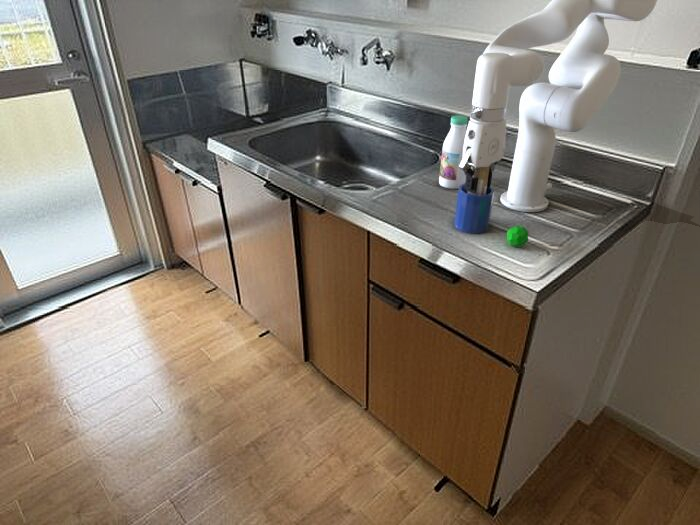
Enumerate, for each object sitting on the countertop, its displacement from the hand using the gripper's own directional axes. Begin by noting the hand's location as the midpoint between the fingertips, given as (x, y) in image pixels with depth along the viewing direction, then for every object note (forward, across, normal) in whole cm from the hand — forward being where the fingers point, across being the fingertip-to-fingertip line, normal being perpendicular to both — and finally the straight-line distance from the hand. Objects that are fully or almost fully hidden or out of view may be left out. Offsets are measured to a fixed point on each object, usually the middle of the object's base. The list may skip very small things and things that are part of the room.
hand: (477, 188), depth 119 cm
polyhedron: (+10, 0, -13) cm, 17 cm away
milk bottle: (+11, +16, +21) cm, 28 cm away
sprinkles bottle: (+6, 0, 0) cm, 6 cm away
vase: (+10, 0, 0) cm, 10 cm away
